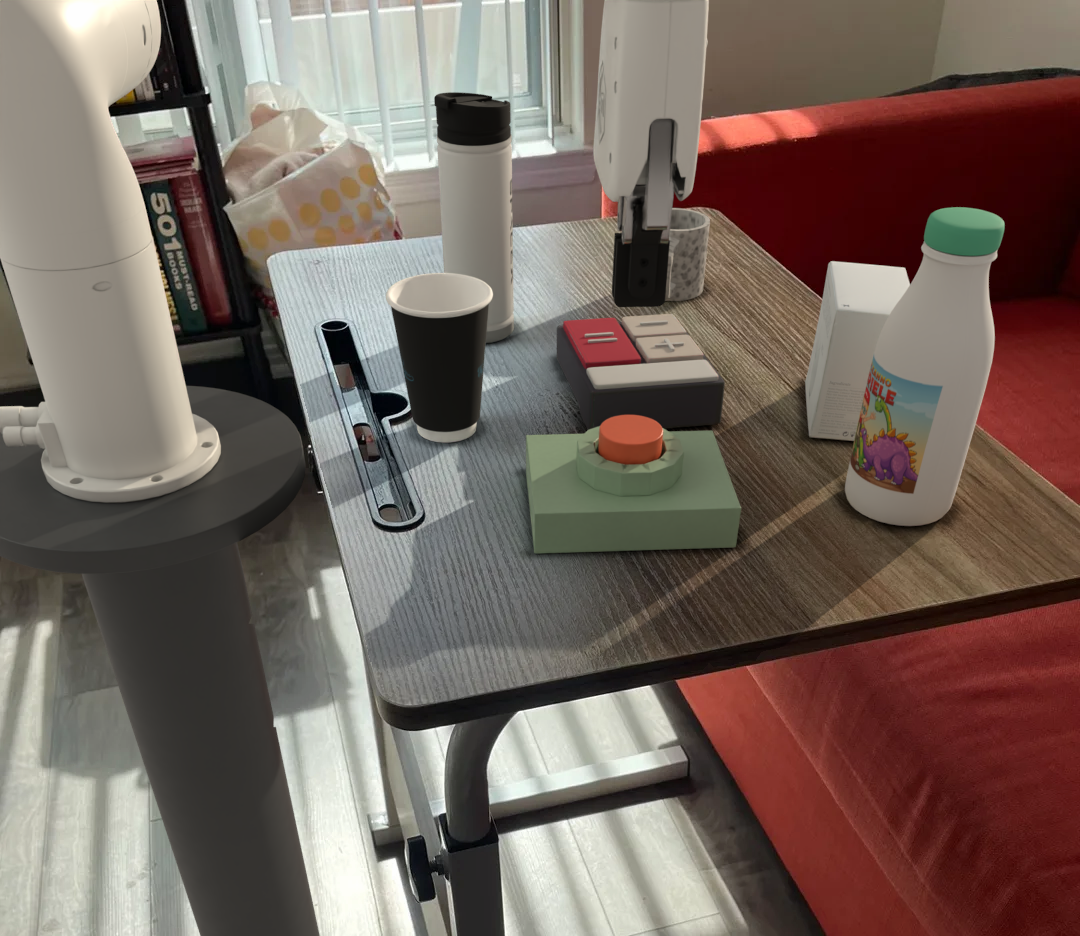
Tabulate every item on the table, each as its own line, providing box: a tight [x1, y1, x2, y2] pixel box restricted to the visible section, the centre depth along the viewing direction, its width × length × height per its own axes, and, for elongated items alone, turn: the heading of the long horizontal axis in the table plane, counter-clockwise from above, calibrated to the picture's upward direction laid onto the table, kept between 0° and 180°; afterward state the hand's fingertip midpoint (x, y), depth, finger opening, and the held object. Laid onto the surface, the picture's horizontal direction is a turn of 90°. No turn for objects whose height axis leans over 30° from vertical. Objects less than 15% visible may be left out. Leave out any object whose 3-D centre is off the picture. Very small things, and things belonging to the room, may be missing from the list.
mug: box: [665, 207, 711, 302], centre depth 108 cm, size 10×7×7 cm
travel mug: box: [433, 91, 515, 344], centre depth 97 cm, size 6×7×20 cm
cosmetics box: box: [804, 260, 911, 442], centre depth 88 cm, size 10×6×10 cm, turn 172°
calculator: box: [556, 313, 726, 431], centre depth 93 cm, size 11×4×15 cm
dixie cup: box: [385, 272, 493, 443], centre depth 86 cm, size 8×8×11 cm
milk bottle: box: [844, 206, 1006, 527], centre depth 75 cm, size 8×8×20 cm
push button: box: [598, 415, 663, 465], centre depth 77 cm, size 4×4×2 cm
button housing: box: [525, 426, 742, 555], centre depth 79 cm, size 14×11×5 cm
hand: (637, 301), depth 70 cm, fingers closed
